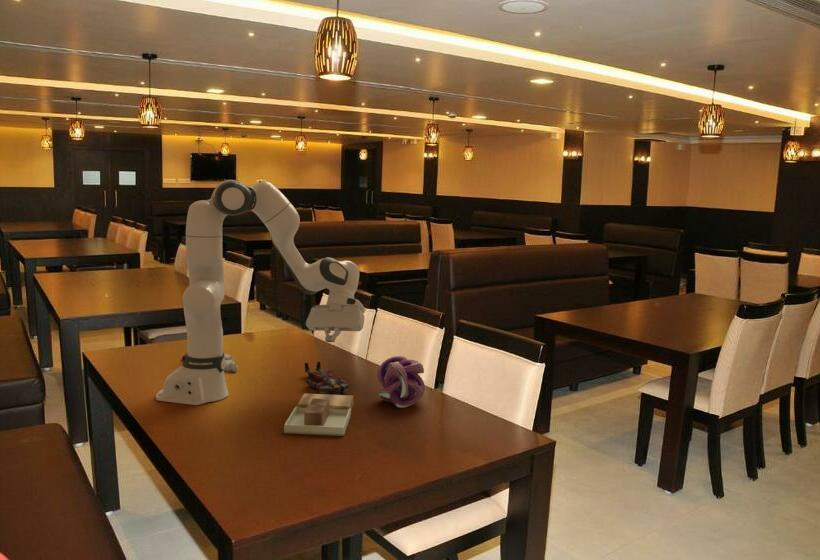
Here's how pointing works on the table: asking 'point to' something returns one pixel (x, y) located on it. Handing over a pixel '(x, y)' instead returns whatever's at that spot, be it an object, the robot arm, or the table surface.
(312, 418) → the walnut block
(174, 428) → the table surface
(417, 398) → the sculpture
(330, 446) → the table surface
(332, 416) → the tray
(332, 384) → the figurine
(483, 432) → the table surface
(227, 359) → the male figure
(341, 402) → the oak board
